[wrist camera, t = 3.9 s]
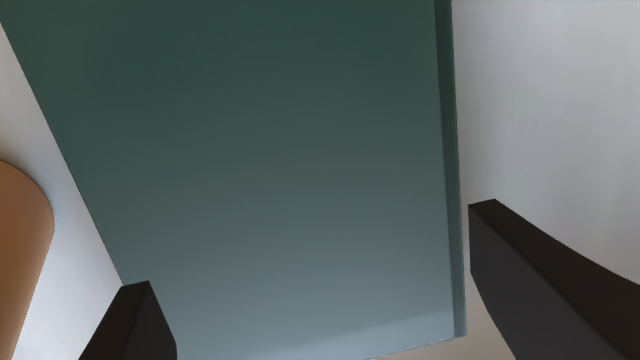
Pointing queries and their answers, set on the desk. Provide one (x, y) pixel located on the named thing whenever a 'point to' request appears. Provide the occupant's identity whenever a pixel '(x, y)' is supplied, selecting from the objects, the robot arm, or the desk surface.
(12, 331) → the orange cylinder
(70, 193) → the desk surface
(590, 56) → the desk surface
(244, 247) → the book
